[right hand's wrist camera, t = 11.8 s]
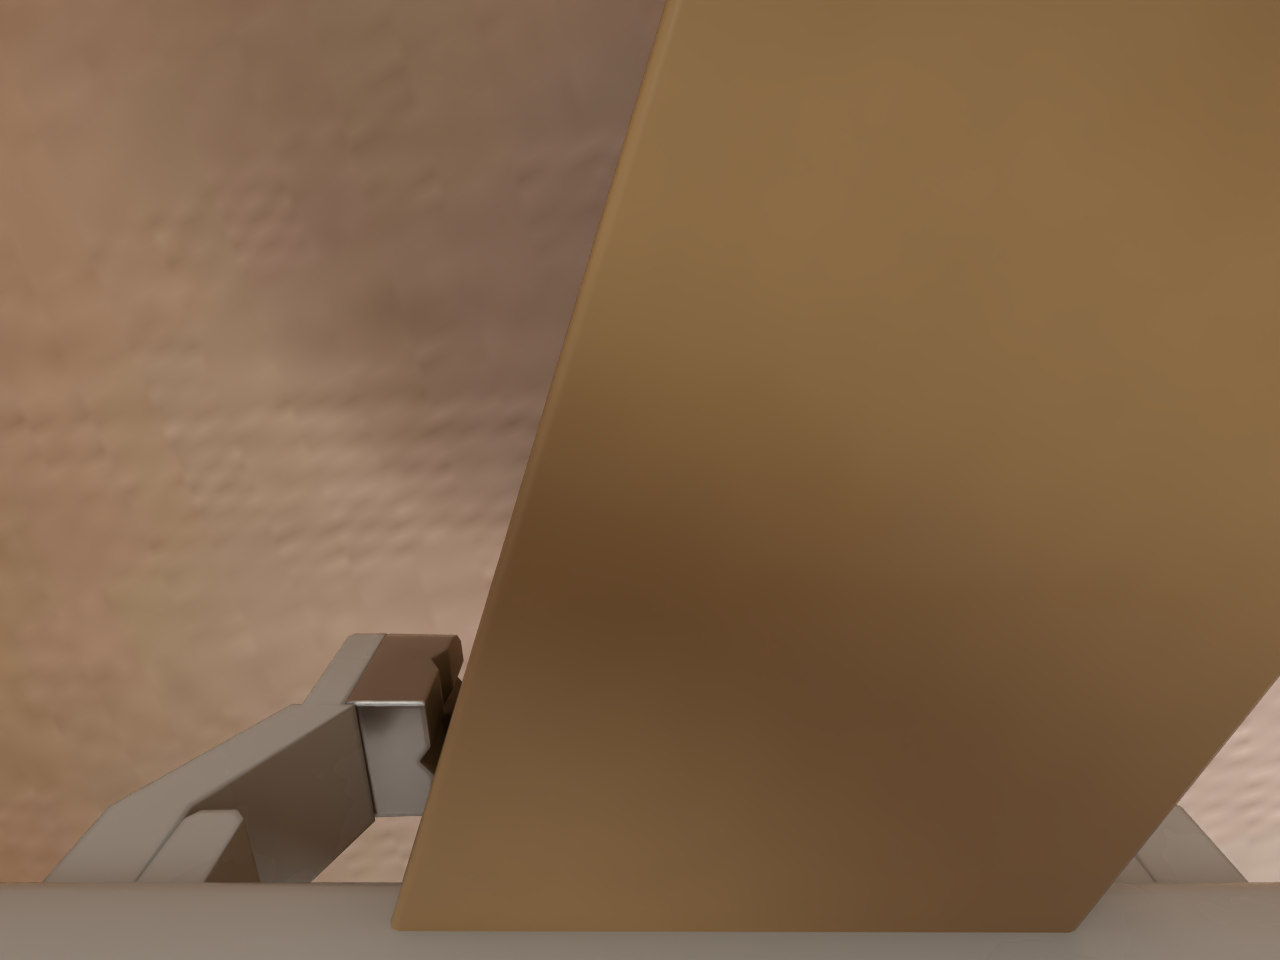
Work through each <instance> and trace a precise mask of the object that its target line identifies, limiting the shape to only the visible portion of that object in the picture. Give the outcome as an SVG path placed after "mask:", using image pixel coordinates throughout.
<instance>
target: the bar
mask: <svg viewBox="0 0 1280 960" xmlns="http://www.w3.org/2000/svg"><path fill="white" fill-rule="evenodd" d="M1279 676H1280V0H666V3H665V6H664V10H663V13H662V16H661V20H660V23H659V26H658V30H657V33H656V36H655V40H654V43H653V46H652V50H651V53H650V56H649V60H648V63H647V67H646V70H645V73H644V77H643V80H642V83H641V87H640V90H639V93H638V97H637V100H636V103H635V107H634V110H633V113H632V117H631V120H630V123H629V127H628V130H627V133H626V137H625V140H624V143H623V147H622V150H621V153H620V157H619V160H618V163H617V167H616V170H615V173H614V177H613V180H612V183H611V187H610V190H609V193H608V197H607V200H606V203H605V207H604V210H603V213H602V217H601V220H600V223H599V227H598V230H597V233H596V237H595V240H594V244H593V247H592V250H591V254H590V257H589V260H588V264H587V267H586V270H585V274H584V277H583V280H582V284H581V287H580V290H579V294H578V297H577V300H576V304H575V307H574V310H573V314H572V317H571V320H570V324H569V327H568V330H567V334H566V337H565V340H564V344H563V347H562V350H561V354H560V357H559V360H558V364H557V367H556V370H555V374H554V377H553V380H552V384H551V387H550V390H549V394H548V397H547V400H546V404H545V407H544V411H543V414H542V417H541V421H540V424H539V427H538V431H537V434H536V437H535V441H534V444H533V447H532V451H531V454H530V457H529V461H528V464H527V467H526V471H525V474H524V477H523V481H522V484H521V487H520V491H519V494H518V497H517V501H516V504H515V507H514V511H513V514H512V517H511V521H510V524H509V527H508V531H507V534H506V537H505V541H504V544H503V547H502V551H501V554H500V557H499V561H498V564H497V567H496V571H495V574H494V577H493V581H492V584H491V588H490V591H489V594H488V598H487V601H486V604H485V608H484V611H483V614H482V618H481V621H480V624H479V628H478V631H477V634H476V638H475V641H474V644H473V648H472V651H471V654H470V658H469V661H468V664H467V668H466V671H465V674H464V678H463V681H462V684H461V688H460V691H459V694H458V698H457V701H456V704H455V708H454V711H453V714H452V718H451V721H450V724H449V728H448V731H447V734H446V738H445V741H444V744H443V748H442V751H441V754H440V758H439V761H438V765H437V768H436V771H435V775H434V778H433V781H432V785H431V788H430V791H429V795H428V798H427V801H426V805H425V808H424V811H423V815H422V818H421V821H420V825H419V828H418V831H417V835H416V838H415V841H414V845H413V848H412V851H411V855H410V858H409V861H408V865H407V868H406V871H405V875H404V878H403V881H402V885H401V888H400V891H399V895H398V898H397V901H396V905H395V908H394V911H393V915H392V918H391V921H390V923H391V928H392V929H395V930H397V931H574V932H982V933H1070V932H1072V931H1074V930H1076V929H1077V927H1078V926H1079V925H1080V924H1081V922H1082V921H1083V920H1084V919H1085V917H1086V916H1087V915H1088V914H1089V912H1090V911H1091V910H1092V909H1093V907H1094V906H1095V905H1096V904H1097V903H1098V901H1099V900H1100V899H1101V898H1102V896H1103V895H1104V894H1105V893H1106V891H1107V890H1108V889H1109V888H1110V886H1111V885H1112V884H1113V883H1114V881H1115V880H1116V879H1117V878H1118V876H1119V875H1120V874H1121V873H1122V871H1123V870H1124V869H1125V868H1126V866H1127V865H1128V864H1129V863H1130V861H1131V860H1132V859H1133V858H1134V857H1135V855H1136V854H1137V853H1138V852H1139V850H1140V849H1141V848H1142V847H1143V845H1144V844H1145V843H1146V842H1147V840H1148V839H1149V838H1150V837H1151V835H1152V834H1153V833H1154V832H1155V830H1156V829H1157V828H1158V827H1159V825H1160V824H1161V823H1162V822H1163V820H1164V819H1165V818H1166V817H1167V815H1168V814H1169V813H1170V812H1171V810H1172V809H1173V808H1174V807H1175V806H1176V804H1177V803H1178V802H1179V801H1180V799H1181V798H1182V797H1183V796H1184V794H1185V793H1186V792H1187V791H1188V789H1189V788H1190V787H1191V786H1192V784H1193V783H1194V782H1195V781H1196V779H1197V778H1198V777H1199V776H1200V774H1201V773H1202V772H1203V771H1204V769H1205V768H1206V767H1207V766H1208V764H1209V763H1210V762H1211V761H1212V759H1213V758H1214V757H1215V756H1216V755H1217V753H1218V752H1219V751H1220V750H1221V748H1222V747H1223V746H1224V745H1225V743H1226V742H1227V741H1228V740H1229V738H1230V737H1231V736H1232V735H1233V733H1234V732H1235V731H1236V730H1237V728H1238V727H1239V726H1240V725H1241V723H1242V722H1243V721H1244V720H1245V718H1246V717H1247V716H1248V715H1249V713H1250V712H1251V711H1252V710H1253V709H1254V707H1255V706H1256V705H1257V704H1258V702H1259V701H1260V700H1261V699H1262V697H1263V696H1264V695H1265V694H1266V692H1267V691H1268V690H1269V689H1270V687H1271V686H1272V685H1273V684H1274V682H1275V681H1276V680H1277V679H1278V677H1279Z"/></svg>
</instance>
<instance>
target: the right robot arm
mask: <svg viewBox="0 0 1280 960" xmlns="http://www.w3.org/2000/svg"><path fill="white" fill-rule="evenodd" d="M463 661H464V660H463V653H462V646H461V641H460V639H459V638H458V636H457V635H428V634H389V635H388V634H386V633H376V634H353V635H351V636H349V637H348V638H347V639H346V640H345V642H344V643H343V645H342V646H341V648H340V649H339V651H338V652H337V654H336V655H335V657H334V658H333V660H332V661H331V663H330V664H329V666H328V667H327V669H326V670H325V672H324V673H323V675H322V676H321V677H320V679H319V680H318V682H317V683H316V685H315V686H314V688H313V689H312V691H311V692H310V694H309V695H308V697H307V698H306V700H305V701H304V703H303V704H291V705H289V706H288V707H286V708H284V709H282V710H280V711H279V712H277V713H275V714H273V715H272V716H270V717H268V718H266V719H264V720H263V721H261V722H259V723H257V724H255V725H254V726H252V727H250V728H248V729H247V730H245V731H243V732H241V733H239V734H238V735H236V736H234V737H232V738H230V739H229V740H227V741H225V742H223V743H222V744H220V745H218V746H216V747H214V748H213V749H211V750H209V751H207V752H205V753H204V754H202V755H200V756H198V757H197V758H195V759H193V760H191V761H189V762H188V763H186V764H184V765H182V766H180V767H179V768H177V769H175V770H173V771H172V772H170V773H168V774H166V775H164V776H163V777H161V778H159V779H157V780H155V781H154V782H152V783H150V784H148V785H146V786H145V787H143V788H141V789H139V790H138V791H136V792H134V793H132V794H130V795H129V796H127V797H125V798H123V799H121V800H120V801H118V802H116V803H114V804H113V805H111V806H109V807H108V808H107V809H106V810H105V811H104V813H103V814H102V815H101V816H100V817H99V818H98V819H97V821H96V822H95V823H94V824H93V825H92V826H91V827H90V829H89V830H88V831H87V832H86V833H85V834H84V835H83V837H82V838H81V839H80V840H79V841H78V842H77V843H76V844H75V846H74V847H73V848H72V849H71V850H70V851H69V852H68V854H67V855H66V856H65V857H64V858H63V859H62V860H61V862H60V863H59V864H58V865H57V866H56V867H55V868H54V869H53V871H52V872H51V873H50V874H49V875H48V876H47V877H46V879H45V880H44V881H43V882H0V960H1280V882H1248V881H1247V880H1246V879H1245V878H1244V877H1243V875H1242V874H1241V873H1240V872H1239V871H1238V870H1237V869H1236V868H1235V866H1234V865H1233V864H1232V863H1231V862H1230V861H1229V860H1228V859H1227V857H1226V856H1225V855H1224V854H1223V853H1222V852H1221V851H1220V850H1219V848H1218V847H1217V846H1216V845H1215V844H1214V843H1213V842H1212V841H1211V839H1210V838H1209V837H1208V836H1207V835H1206V834H1205V833H1204V832H1203V830H1202V829H1201V828H1200V827H1199V826H1198V825H1197V824H1196V823H1195V821H1194V820H1193V819H1192V818H1191V817H1190V816H1189V815H1188V814H1187V812H1186V811H1185V810H1184V809H1183V808H1182V807H1180V806H1178V805H1176V806H1175V807H1174V808H1173V809H1172V810H1171V812H1170V813H1169V814H1168V815H1167V817H1166V818H1165V819H1164V820H1163V822H1162V823H1161V824H1160V825H1159V827H1158V828H1157V829H1156V830H1155V832H1154V833H1153V834H1152V835H1151V837H1150V838H1149V839H1148V840H1147V842H1146V843H1145V844H1144V845H1143V847H1142V848H1141V849H1140V850H1139V852H1138V853H1137V854H1136V855H1135V857H1134V858H1133V859H1132V860H1131V861H1130V863H1129V864H1128V865H1127V866H1126V868H1125V869H1124V870H1123V871H1122V873H1121V874H1120V875H1119V876H1118V878H1117V879H1116V880H1115V881H1114V883H1113V884H1112V885H1111V886H1110V888H1109V889H1108V890H1107V891H1106V893H1105V894H1104V895H1103V896H1102V898H1101V899H1100V900H1099V901H1098V903H1097V904H1096V905H1095V906H1094V907H1093V909H1092V910H1091V911H1090V912H1089V914H1088V915H1087V916H1086V917H1085V919H1084V920H1083V921H1082V922H1081V924H1080V925H1079V926H1078V927H1077V929H1076V930H1074V931H1072V932H1070V933H982V932H574V931H397V930H395V929H392V928H391V923H390V921H391V918H392V915H393V911H394V908H395V905H396V901H397V898H398V895H399V891H400V888H401V885H402V883H310V882H311V881H312V880H314V879H315V878H316V877H317V876H318V875H319V874H320V873H321V872H322V871H323V870H324V869H325V868H326V867H327V866H328V865H329V864H330V863H331V862H332V861H333V860H335V859H336V858H337V857H338V856H339V855H340V854H341V853H342V852H343V851H344V850H345V849H346V848H347V847H348V846H349V845H350V844H351V843H352V842H353V841H354V840H355V839H357V838H358V837H359V836H360V835H361V834H362V833H363V832H364V831H365V830H366V829H367V828H368V827H369V826H370V825H371V824H372V823H373V822H374V821H375V817H395V816H422V815H423V811H424V808H425V805H426V801H427V798H428V795H429V791H430V788H431V785H432V781H433V778H434V775H435V771H436V768H437V765H438V761H439V758H440V754H441V751H442V748H443V744H444V741H445V738H446V734H447V731H448V728H449V724H450V721H451V718H452V714H453V711H454V708H455V704H456V701H457V698H458V694H459V691H460V688H461V684H462V681H461V680H460V679H459V678H458V674H459V671H460V669H461V666H462V663H463Z"/></svg>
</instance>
